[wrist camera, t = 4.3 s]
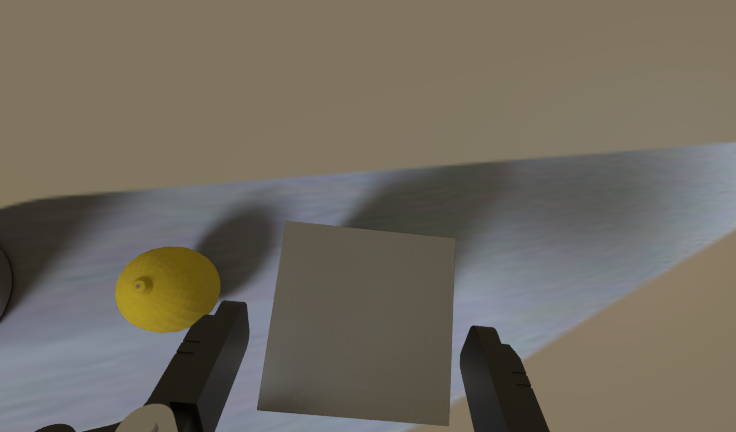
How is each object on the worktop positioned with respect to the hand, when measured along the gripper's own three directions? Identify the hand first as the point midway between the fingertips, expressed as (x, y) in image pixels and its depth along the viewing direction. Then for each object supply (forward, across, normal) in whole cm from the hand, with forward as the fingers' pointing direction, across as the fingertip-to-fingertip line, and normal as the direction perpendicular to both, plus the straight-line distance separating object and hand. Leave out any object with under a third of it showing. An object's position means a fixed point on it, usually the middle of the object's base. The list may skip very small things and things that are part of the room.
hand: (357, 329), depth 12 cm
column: (+10, 0, +9) cm, 13 cm away
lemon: (+11, +12, +10) cm, 19 cm away
